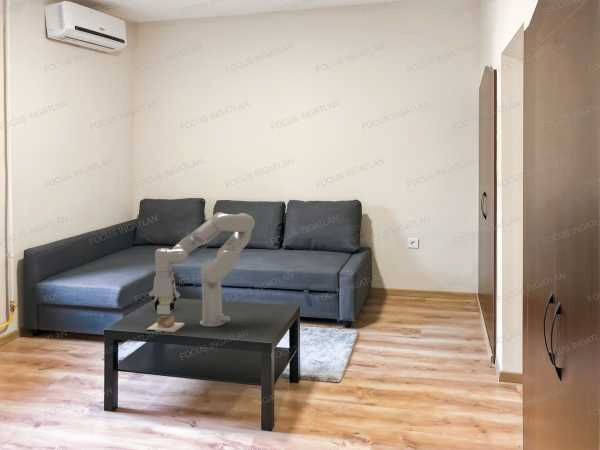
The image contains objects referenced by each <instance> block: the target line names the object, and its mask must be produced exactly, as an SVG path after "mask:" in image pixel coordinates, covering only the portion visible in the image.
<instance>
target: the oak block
mask: <svg viewBox="0 0 600 450" xmlns="http://www.w3.org/2000/svg"><path fill="white" fill-rule="evenodd" d="M156 320H157V322H156V323H157V327H161V328H170V327H171V326H173V325H174V323H175V316H171V315H162V316H159V318H157V319H156Z"/></svg>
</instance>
